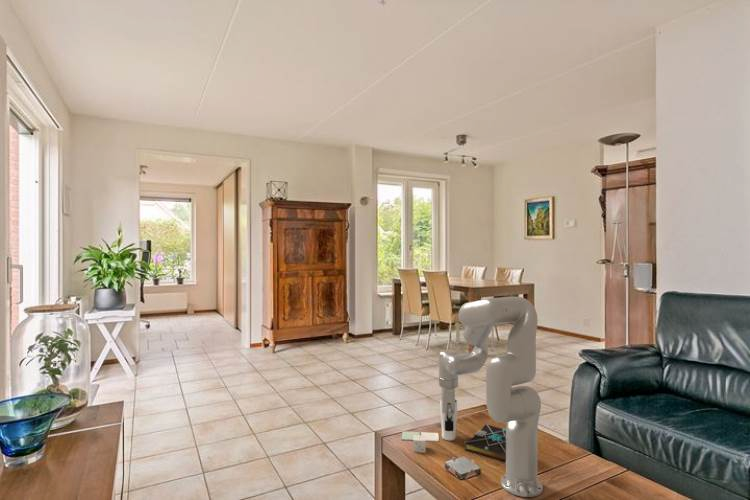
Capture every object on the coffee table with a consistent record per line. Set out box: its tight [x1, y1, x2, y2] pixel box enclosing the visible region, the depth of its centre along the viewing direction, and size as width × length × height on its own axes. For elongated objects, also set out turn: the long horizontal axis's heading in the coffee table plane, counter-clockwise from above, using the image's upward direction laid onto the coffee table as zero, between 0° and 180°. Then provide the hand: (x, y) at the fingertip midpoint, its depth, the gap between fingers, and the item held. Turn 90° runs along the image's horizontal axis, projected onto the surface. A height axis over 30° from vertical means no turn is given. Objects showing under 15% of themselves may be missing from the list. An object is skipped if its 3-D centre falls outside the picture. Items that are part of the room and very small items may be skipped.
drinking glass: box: [439, 398, 458, 442], centre depth 170 cm, size 7×7×15 cm
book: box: [463, 422, 506, 464], centre depth 164 cm, size 22×17×5 cm
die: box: [412, 434, 427, 454], centre depth 161 cm, size 5×5×5 cm
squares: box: [401, 430, 440, 443], centre depth 172 cm, size 7×14×1 cm, turn 84°
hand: (448, 426), depth 170 cm, fingers closed on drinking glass, 6 cm apart
